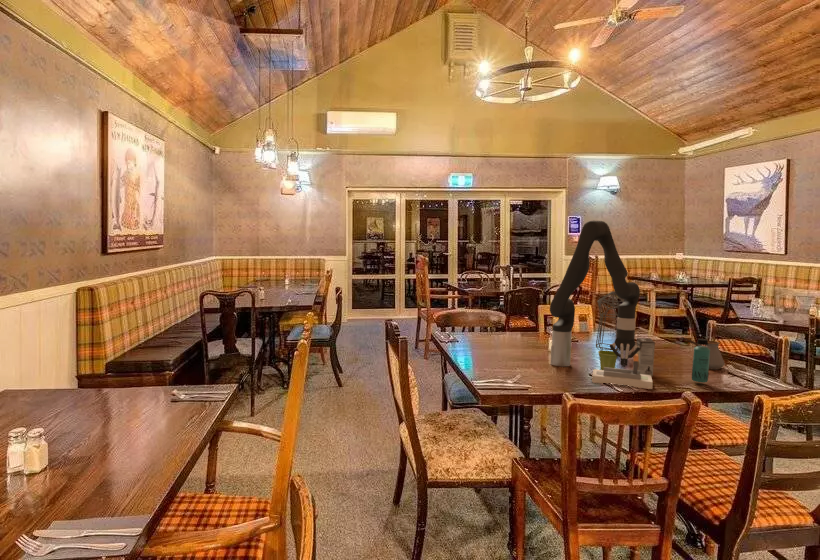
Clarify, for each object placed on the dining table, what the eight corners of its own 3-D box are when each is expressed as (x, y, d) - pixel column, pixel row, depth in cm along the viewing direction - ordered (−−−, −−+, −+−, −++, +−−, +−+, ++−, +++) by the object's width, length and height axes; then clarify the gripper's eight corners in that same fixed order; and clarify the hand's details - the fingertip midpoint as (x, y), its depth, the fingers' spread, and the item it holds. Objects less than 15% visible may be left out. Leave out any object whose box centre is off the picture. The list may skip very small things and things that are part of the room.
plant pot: (621, 370, 244) (622, 352, 244) (613, 374, 238) (613, 355, 237) (602, 366, 251) (603, 349, 250) (593, 370, 244) (594, 352, 244)
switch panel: (592, 382, 223) (592, 371, 223) (593, 375, 235) (593, 364, 234) (652, 389, 215) (652, 377, 214) (650, 381, 226) (651, 370, 225)
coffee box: (634, 370, 245) (636, 337, 244) (648, 371, 244) (650, 338, 243) (638, 375, 236) (640, 341, 235) (653, 376, 235) (655, 342, 234)
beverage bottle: (687, 381, 227) (690, 337, 225) (701, 381, 227) (704, 337, 226) (697, 386, 220) (700, 340, 218) (711, 385, 221) (714, 340, 219)
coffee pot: (716, 364, 258) (718, 335, 257) (729, 370, 247) (731, 340, 246) (673, 363, 260) (675, 334, 258) (684, 369, 248) (686, 339, 247)
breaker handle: (631, 377, 220) (632, 356, 219) (630, 374, 225) (632, 353, 225) (638, 377, 219) (640, 357, 218) (638, 374, 224) (639, 354, 224)
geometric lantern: (595, 350, 288) (599, 289, 285) (625, 354, 281) (630, 291, 278) (592, 355, 274) (596, 291, 271) (623, 360, 267) (629, 294, 264)
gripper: (609, 327, 221) (607, 367, 223) (642, 330, 216) (640, 370, 218) (609, 325, 228) (607, 363, 229) (641, 327, 223) (639, 366, 225)
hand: (623, 366), depth 224 cm, fingers closed
